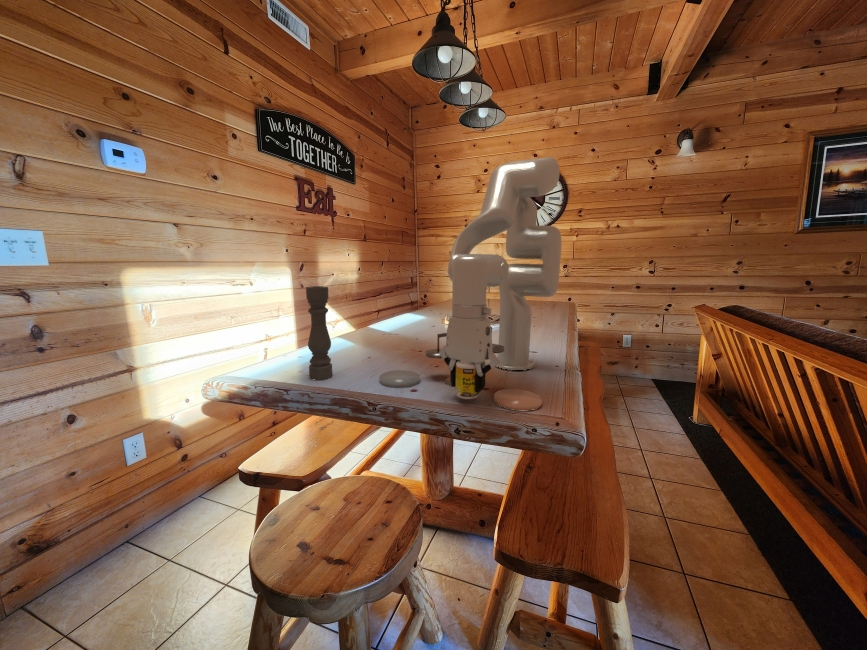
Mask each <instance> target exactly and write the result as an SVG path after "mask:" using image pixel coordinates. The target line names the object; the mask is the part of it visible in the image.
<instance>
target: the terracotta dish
mask: <svg viewBox="0 0 867 650" xmlns="http://www.w3.org/2000/svg"><path fill="white" fill-rule="evenodd" d="M493 402H494V404H495V403H496V404H498V405H500V406H502V407H505V408H508V409H514V410H532V409H536V408H539V407H540V406H541V405H542V406H543V398H542V397H541V396H540V395H539V394H538V393H535V392H532V391H530V390H527V389H522V388H521V389H520V388H504V389H501V390H500V389H499V390H498V391H495V393H494V394H493ZM496 404H495V405H496ZM498 405H497V406H498ZM500 406H499V407H500ZM542 406H541V407H542ZM502 407H501V408H502ZM541 407H540V408H541ZM540 408H539V409H540ZM508 409H507V410H508Z"/></svg>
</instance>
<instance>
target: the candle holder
mask: <svg viewBox="0 0 867 650" xmlns="http://www.w3.org/2000/svg"><path fill="white" fill-rule="evenodd" d="M305 291H306V292H305V293H306V294H305V295H306V300H307V303H308V304H309V308H308V309H307V312H308V313H309V315H310V321H311V322H310V323H311V326H310V331H309V337H308V341H307V347H308V350H309V351H310V352H311V355H312V357H311V358H310V359H309V365H308V373H309V375H308V377H310V378H311V379H310V378H309V379H310V380H312V379H315V380H314V381H324V379H326V380H329V379H331V378H333V364H332V363H331V361H332V358H331V357H330V356H329V351H330V349H331V347H332V340H331V338H330V337H331V336H330V334H329V331H328V327H327V320H326V319H327V316H326V315H327V313H328V312H329V309H328V307H327V306H326V305H327V303H328V300H329V286H323V285H322V286H317V285H316V286H314V285H313V286H306V287H305ZM328 378H329V379H328Z"/></svg>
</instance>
